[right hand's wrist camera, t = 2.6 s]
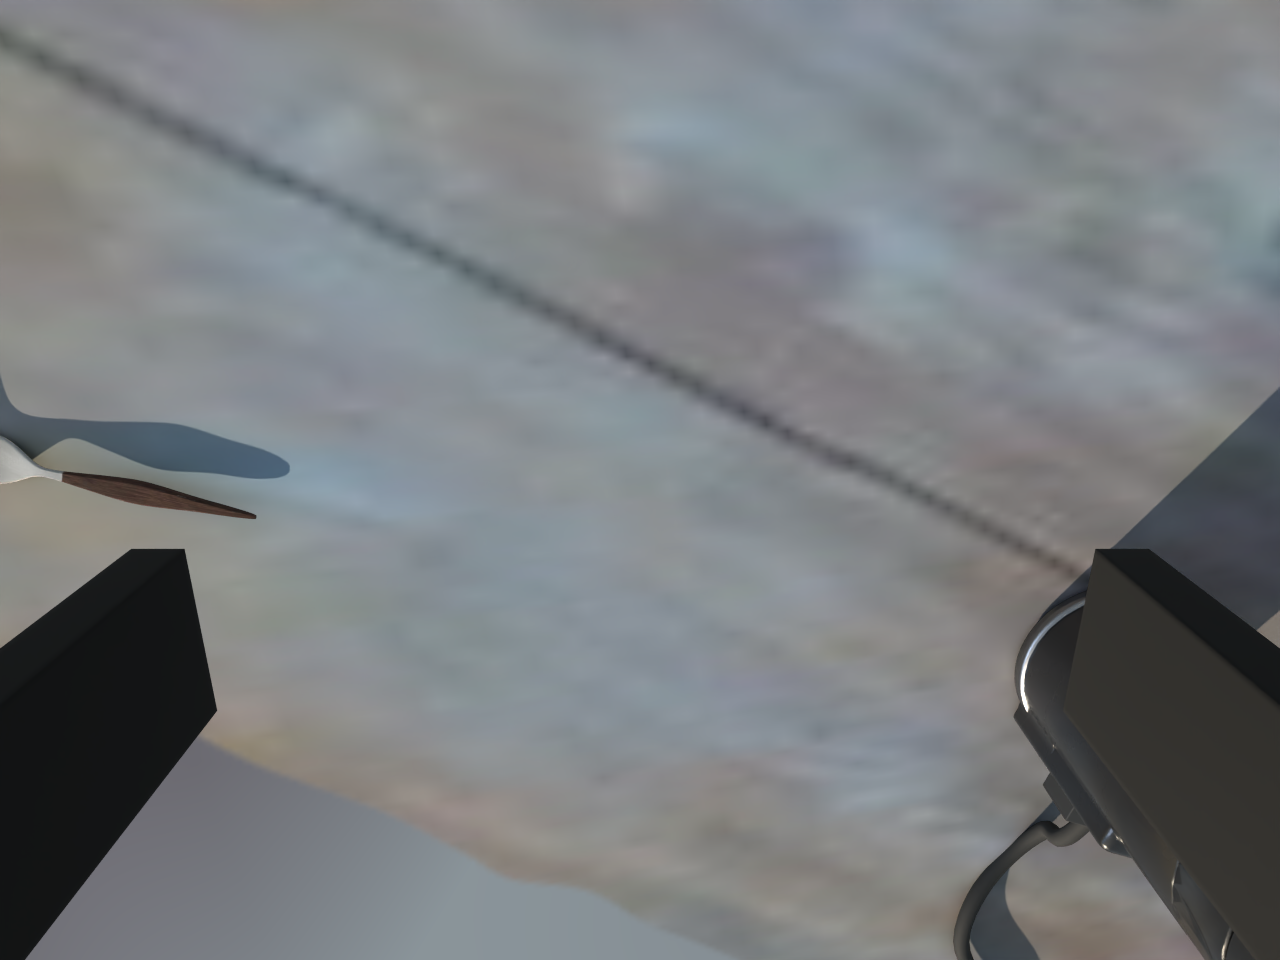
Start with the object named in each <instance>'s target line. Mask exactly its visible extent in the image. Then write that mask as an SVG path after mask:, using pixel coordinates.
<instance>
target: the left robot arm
mask: <svg viewBox="0 0 1280 960" xmlns="http://www.w3.org/2000/svg"><path fill="white" fill-rule="evenodd" d="M1086 594H1087V591H1085V592H1082V593H1079V594H1077V595H1075V596H1073V597H1071V598H1069V599H1067V600H1065V601H1063V602H1062V603H1060V604H1059V605H1057V606H1056V607H1054V608H1053V609H1052V610H1051V611H1049V612H1048V613H1047V614H1046V615H1045V616H1044V617H1043V618H1041V619H1040V620H1039V622H1038V623H1037V624H1036V625H1035V626H1034V627H1033V629H1032V630H1031V631H1030V633H1029V634H1028V636H1027V637H1026V639H1025V641H1024V643H1023V645H1022V647H1021V649H1020V652H1019V654H1018V657H1017V661H1016V666H1015V687H1016V691H1017V695H1018V698H1019V700H1020V704H1019V707H1018V709H1017V711H1016V713H1015V714H1014V719H1015V721H1016V722H1017V724H1018V725H1019V727H1020V728H1021V730H1022V731H1023V733H1024V734H1025V736H1026V737H1027V739H1028V740H1029V742H1030V743H1031V745H1032V746H1033V748H1034V749H1035V751H1036V752H1037V754H1038V755H1039V757H1040V758H1041V759H1042V761H1043V762H1044V764H1045V765H1046V767H1047V768H1048V770H1049V771H1050V774H1049V775H1048V777H1047V778H1046V780H1045V782H1044V783H1043V786H1044V788H1045V789H1046V791H1047V792H1048V794H1049V796H1050V797H1051V799H1052V800H1053V802H1054V803H1055V805H1056V806H1057V808H1058V809H1059V811H1060V813H1061V814H1062V816H1063V817H1064V819H1065V820H1066V821H1069V823H1068V824H1066V825H1065V826H1063V827H1062V828H1059V827H1058V826H1057V825H1055V824H1054V823H1052V822H1050V821H1041V822H1038V823H1037V824H1035V825H1033V826H1032V827H1030V828H1029V829H1027V830H1026V831H1025V832H1024V833H1023V834H1022V835H1020V836H1019V837H1018V838H1017V839H1016V840H1015V842H1014V843H1013V844H1012V845H1011V846H1010V847H1009V848H1008V849H1007V850H1006V851H1005V852H1003V853H1002V854H1001V855H1000V856H999V857H998V858H997V859H996V860H995V861H994V862H992V863H991V864H990V865H989V866H988V867H987V868H986V869H985V870H984V871H983V873H982V874H981V875H980V876H979V878H978V879H977V880H976V882H975V883H974V884H973V886H972V888H971V889H970V891H969V893H968V894H967V896H966V898H965V900H964V902H963V904H962V907H961V910H960V912H959V915H958V918H957V922H956V925H955V929H954V939H953V942H954V950H955V954H956V956H957V959H958V960H974V959H973V957H972V954H971V951H970V944H969V940H970V932H971V928H972V925H973V922H974V920H975V917H976V915H977V913H978V911H979V909H980V907H981V905H982V903H983V902H984V900H985V898H986V897H987V895H988V894H989V892H990V891H991V889H992V888H993V886H994V885H995V884H996V883H997V881H998V880H999V879H1000V878H1001V876H1002V875H1003V874H1004V873H1005V872H1006V871H1007V870H1008V869H1009V868H1010V867H1011V866H1012V865H1013V864H1014V863H1015V862H1016V861H1017V860H1018V859H1019V858H1020V857H1022V856H1023V855H1024V854H1025V853H1027V852H1028V851H1029V850H1030V849H1032V848H1033V847H1035V846H1036V845H1038V844H1039V843H1041V842H1042V841H1044V840H1046V839H1047V840H1048V841H1049V842H1050V843H1052V844H1054V845H1055V846H1057V847H1064V846H1069V845H1072V844H1074V843H1075V842H1077V841H1078V840H1080V839H1081V838H1082V837H1083V836H1084V835H1086V834H1087V833H1088V832H1089V831H1090V832H1091V834H1092V835H1093V837H1094V838H1095V840H1096V841H1097V843H1098V844H1099V845H1100V846H1101V847H1102V848H1103V849H1105V850H1107V851H1108V852H1111V853H1114V854H1118V855H1121V856H1125V857H1129V858H1132V859H1133V860H1134V862H1135V863H1136V865H1137V866H1138V867H1139V869H1140V870H1141V872H1142V873H1143V874H1144V876H1145V877H1146V879H1147V880H1148V881H1149V883H1150V884H1151V886H1152V887H1153V888H1154V890H1155V891H1156V893H1157V894H1158V895H1159V897H1160V898H1161V900H1162V901H1163V902H1164V904H1165V905H1166V907H1167V908H1168V909H1169V911H1170V912H1171V914H1172V915H1173V916H1174V918H1175V919H1176V921H1177V922H1178V923H1179V925H1180V926H1181V928H1182V929H1183V930H1184V932H1185V933H1186V935H1187V936H1188V937H1189V938H1190V940H1191V941H1192V943H1193V944H1194V946H1195V947H1196V948H1197V950H1198V951H1199V953H1200V954H1201V955H1202V957H1203V958H1204V960H1255V959H1254V958H1253V956H1252V955H1251V954H1250V952H1249V951H1248V950H1247V949H1246V947H1245V946H1244V945H1243V943H1242V942H1241V941H1240V940H1239V938H1238V937H1237V936H1236V934H1235V933H1234V932H1233V930H1232V929H1231V928H1230V927H1229V925H1228V924H1227V923H1226V921H1225V920H1224V919H1223V917H1222V916H1221V915H1220V914H1219V912H1218V911H1217V910H1216V908H1215V907H1214V906H1213V905H1212V903H1211V902H1210V901H1209V899H1208V898H1207V897H1206V895H1205V894H1204V893H1203V892H1202V890H1201V889H1200V888H1199V886H1198V885H1197V884H1196V883H1195V881H1194V880H1193V879H1192V877H1191V876H1190V875H1189V873H1188V872H1187V871H1186V870H1185V868H1184V867H1183V866H1182V864H1181V863H1180V862H1179V860H1178V859H1177V858H1176V857H1175V855H1174V854H1173V853H1172V851H1171V850H1170V849H1169V848H1168V846H1167V845H1166V844H1165V842H1164V841H1163V840H1162V838H1161V837H1160V836H1159V835H1158V833H1157V832H1156V831H1155V829H1154V828H1153V827H1152V826H1151V824H1150V823H1149V822H1148V820H1147V819H1146V818H1145V816H1144V815H1143V814H1142V813H1141V811H1140V810H1139V809H1138V807H1137V806H1136V805H1135V803H1134V802H1133V801H1132V800H1131V798H1130V797H1129V796H1128V794H1127V793H1126V792H1125V791H1124V789H1123V788H1122V787H1121V785H1120V784H1119V783H1118V781H1117V780H1116V779H1115V778H1114V776H1113V775H1112V774H1111V772H1110V771H1109V770H1108V769H1107V767H1106V766H1105V765H1104V763H1103V762H1102V761H1101V759H1100V758H1099V757H1098V756H1097V754H1096V753H1095V752H1094V750H1093V749H1092V748H1091V746H1090V745H1089V744H1088V743H1087V741H1086V740H1085V739H1084V737H1083V736H1082V735H1081V734H1080V732H1079V731H1078V730H1077V728H1076V727H1075V726H1074V724H1073V723H1072V722H1071V721H1070V719H1069V718H1068V717H1067V715H1066V714H1065V713H1064V712H1063V708H1064V703H1065V698H1066V693H1067V688H1068V683H1069V678H1070V673H1071V668H1072V663H1073V658H1074V653H1075V648H1076V643H1077V638H1078V633H1079V628H1080V623H1081V618H1082V613H1083V609H1084V604H1085V599H1086Z"/></svg>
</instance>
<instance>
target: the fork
mask: <svg viewBox="0 0 1280 960" xmlns="http://www.w3.org/2000/svg"><path fill="white" fill-rule="evenodd" d="M35 476H41V477H47V478H51V479H55V480H58V481H61V482H65V483H68V484H71V485H74V486H77V487H80V488H83V489H86V490H89V491H92V492H96V493H99V494H102V495H105V496H108V497H111V498H115V499H118V500H122V501H125V502H129V503H134V504H139V505H145V506H152V507H159V508H168V509H177V510H186V511H194V512H201V513H208V514H215V515H223V516H230V517H238V518H248V519H256V515H254V514H252V513H249V512H246V511H243V510H240V509H236V508H233V507H230V506H226V505H223V504H219V503H215V502H212V501H208V500H205V499H201V498H198V497H194V496H191V495H188V494H185V493H181V492H178V491H175V490H172V489H169V488H165V487H162V486H159V485H155V484H152V483H148V482H144V481H139V480H134V479H127V478H120V477H111V476H103V475H93V474H83V473H74V472H65V471H57V470H51V469H47V468H44V467H42V466H40V465H38V464H37V463H35V462H34V461H33V460H32V459H31V458H30V457H28V456H27V455H26V454H25V453H24V452H23V451H22V450H21V449H20V448H19V447H18V446H17V445H15V444H14V443H13V442H11V441H10V440H8V439H7V438H5V437H3V436H0V484H1V483H11V482H16V481H19V480H23V479H26V478H29V477H35Z"/></svg>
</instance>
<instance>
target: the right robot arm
mask: <svg viewBox="0 0 1280 960" xmlns="http://www.w3.org/2000/svg"><path fill="white" fill-rule="evenodd" d="M216 711H217V708H216V703H215V698H214V693H213V688H212V683H211V678H210V673H209V668H208V663H207V658H206V653H205V648H204V643H203V638H202V633H201V628H200V623H199V618H198V613H197V609H196V604H195V599H194V594H193V589H192V584H191V579H190V574H189V569H188V564H187V559H186V554H185V549H131V550H129V551H128V552H127V553H125V554H124V555H123V556H121V557H120V558H119V559H117V560H116V561H115V562H113V563H112V564H111V565H110V566H108V567H107V568H106V569H104V570H103V571H102V572H100V573H99V574H98V575H96V576H95V577H94V578H92V579H91V580H90V581H88V582H87V583H86V584H85V585H83V586H82V587H81V588H79V589H78V590H77V591H75V592H74V593H73V594H71V595H70V596H69V597H67V598H66V599H65V600H63V601H62V602H61V603H59V604H58V605H57V606H56V607H54V608H53V609H52V610H50V611H49V612H48V613H46V614H45V615H44V616H42V617H41V618H40V619H38V620H37V621H36V622H34V623H33V624H32V625H30V626H29V627H28V628H27V629H25V630H24V631H23V632H21V633H20V634H19V635H17V636H16V637H15V638H13V639H12V640H11V641H9V642H8V643H7V644H5V645H4V646H3V647H2V648H0V960H25V959H26V958H27V956H28V955H29V954H30V952H31V951H32V950H33V948H34V947H35V946H36V945H37V943H38V942H39V941H40V940H41V938H42V937H43V936H44V934H45V933H46V932H47V930H48V929H49V928H50V927H51V925H52V924H53V923H54V921H55V920H56V919H57V917H58V916H59V915H60V914H61V912H62V911H63V910H64V908H65V907H66V906H67V905H68V903H69V902H70V901H71V899H72V898H73V897H74V895H75V894H76V893H77V891H78V890H79V889H80V888H81V886H82V885H83V884H84V882H85V881H86V880H87V879H88V877H89V876H90V875H91V873H92V872H93V871H94V870H95V868H96V867H97V866H98V864H99V863H100V862H101V860H102V859H103V858H104V857H105V855H106V854H107V853H108V851H109V850H110V849H111V848H112V846H113V845H114V844H115V842H116V841H117V840H118V838H119V837H120V836H121V835H122V833H123V832H124V831H125V829H126V828H127V827H128V826H129V824H130V823H131V822H132V820H133V819H134V818H135V816H136V815H137V814H138V813H139V811H140V810H141V809H142V807H143V806H144V805H145V803H146V802H147V801H148V799H149V798H150V797H151V796H152V794H153V793H154V792H155V790H156V789H157V788H158V787H159V785H160V784H161V783H162V781H163V780H164V779H165V778H166V776H167V775H168V774H169V772H170V771H171V770H172V768H173V767H174V766H175V765H176V763H177V762H178V761H179V759H180V758H181V757H182V756H183V754H184V753H185V752H186V750H187V749H188V748H189V746H190V745H191V744H192V743H193V741H194V740H195V739H196V737H197V736H198V735H199V734H200V732H201V731H202V730H203V728H204V727H205V726H206V724H207V723H208V722H209V721H210V719H211V718H212V717H213V715H214V714H215V713H216ZM1063 712H1064V713H1065V714H1066V715H1067V717H1068V718H1069V719H1070V721H1071V722H1072V723H1073V724H1074V726H1075V727H1076V728H1077V730H1078V731H1079V732H1080V734H1081V735H1082V736H1083V737H1084V739H1085V740H1086V741H1087V743H1088V744H1089V745H1090V746H1091V748H1092V749H1093V750H1094V752H1095V753H1096V754H1097V756H1098V757H1099V758H1100V759H1101V761H1102V762H1103V763H1104V765H1105V766H1106V767H1107V769H1108V770H1109V771H1110V772H1111V774H1112V775H1113V776H1114V778H1115V779H1116V780H1117V781H1118V783H1119V784H1120V785H1121V787H1122V788H1123V789H1124V791H1125V792H1126V793H1127V794H1128V796H1129V797H1130V798H1131V800H1132V801H1133V802H1134V803H1135V805H1136V806H1137V807H1138V809H1139V810H1140V811H1141V813H1142V814H1143V815H1144V816H1145V818H1146V819H1147V820H1148V822H1149V823H1150V824H1151V826H1152V827H1153V828H1154V829H1155V831H1156V832H1157V833H1158V835H1159V836H1160V837H1161V838H1162V840H1163V841H1164V842H1165V844H1166V845H1167V846H1168V848H1169V849H1170V850H1171V851H1172V853H1173V854H1174V855H1175V857H1176V858H1177V859H1178V860H1179V862H1180V863H1181V864H1182V866H1183V867H1184V868H1185V870H1186V871H1187V872H1188V873H1189V875H1190V876H1191V877H1192V879H1193V880H1194V881H1195V883H1196V884H1197V885H1198V886H1199V888H1200V889H1201V890H1202V892H1203V893H1204V894H1205V895H1206V897H1207V898H1208V899H1209V901H1210V902H1211V903H1212V905H1213V906H1214V907H1215V908H1216V910H1217V911H1218V912H1219V914H1220V915H1221V916H1222V917H1223V919H1224V920H1225V921H1226V923H1227V924H1228V925H1229V927H1230V928H1231V929H1232V930H1233V932H1234V933H1235V934H1236V936H1237V937H1238V938H1239V940H1240V941H1241V942H1242V943H1243V945H1244V946H1245V947H1246V949H1247V950H1248V951H1249V952H1250V954H1251V955H1252V956H1253V958H1254V959H1255V960H1280V648H1278V647H1277V646H1276V645H1275V644H1273V643H1272V642H1271V641H1269V640H1268V639H1267V638H1265V637H1264V636H1263V635H1261V634H1260V633H1259V632H1257V631H1256V630H1255V629H1253V628H1252V627H1251V626H1250V625H1248V624H1247V623H1246V622H1244V621H1243V620H1242V619H1240V618H1239V617H1238V616H1236V615H1235V614H1234V613H1232V612H1231V611H1230V610H1228V609H1227V608H1226V607H1224V606H1223V605H1222V604H1221V603H1219V602H1218V601H1217V600H1215V599H1214V598H1213V597H1211V596H1210V595H1209V594H1207V593H1206V592H1205V591H1203V590H1202V589H1201V588H1199V587H1198V586H1197V585H1195V584H1194V583H1193V582H1192V581H1190V580H1189V579H1188V578H1186V577H1185V576H1184V575H1182V574H1181V573H1180V572H1178V571H1177V570H1176V569H1174V568H1173V567H1172V566H1170V565H1169V564H1168V563H1167V562H1165V561H1164V560H1163V559H1161V558H1160V557H1159V556H1157V555H1156V554H1155V553H1153V552H1152V551H1151V550H1149V549H1095V554H1094V559H1093V564H1092V569H1091V574H1090V579H1089V584H1088V589H1087V594H1086V599H1085V604H1084V609H1083V613H1082V618H1081V623H1080V628H1079V633H1078V638H1077V643H1076V648H1075V653H1074V658H1073V663H1072V668H1071V673H1070V678H1069V683H1068V688H1067V693H1066V698H1065V703H1064V708H1063Z"/></svg>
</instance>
